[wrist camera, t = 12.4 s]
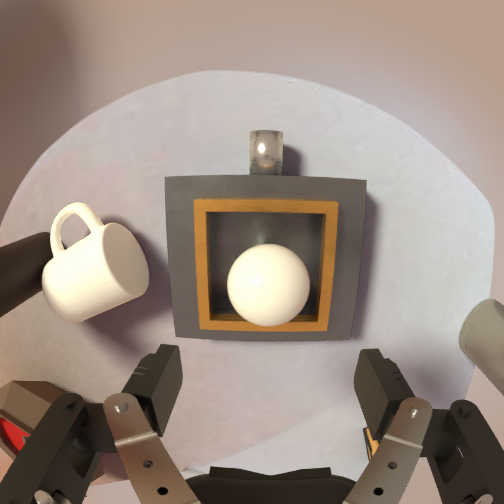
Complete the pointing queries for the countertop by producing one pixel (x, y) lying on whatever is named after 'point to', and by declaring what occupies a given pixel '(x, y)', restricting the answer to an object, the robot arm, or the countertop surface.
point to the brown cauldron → (26, 414)
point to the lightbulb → (268, 285)
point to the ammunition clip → (370, 443)
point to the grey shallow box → (263, 232)
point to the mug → (93, 268)
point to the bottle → (23, 269)
